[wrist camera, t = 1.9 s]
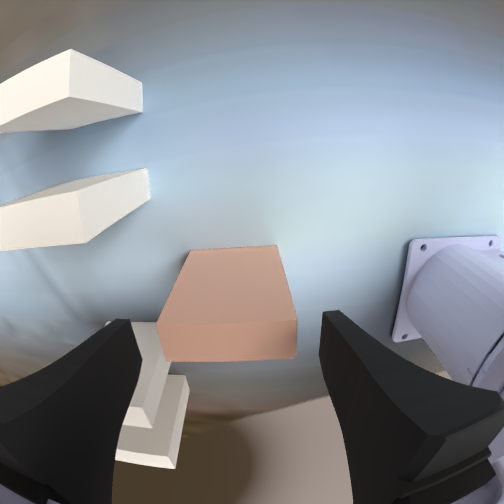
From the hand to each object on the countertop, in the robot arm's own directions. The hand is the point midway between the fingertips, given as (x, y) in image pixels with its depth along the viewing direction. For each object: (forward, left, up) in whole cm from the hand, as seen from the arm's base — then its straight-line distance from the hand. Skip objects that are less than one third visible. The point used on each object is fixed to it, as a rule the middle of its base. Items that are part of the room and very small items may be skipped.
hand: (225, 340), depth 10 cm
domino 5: (0, 0, -7) cm, 7 cm away
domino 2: (+7, -5, -7) cm, 11 cm away
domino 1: (+7, -10, -7) cm, 14 cm away
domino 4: (+7, +10, -7) cm, 14 cm away
